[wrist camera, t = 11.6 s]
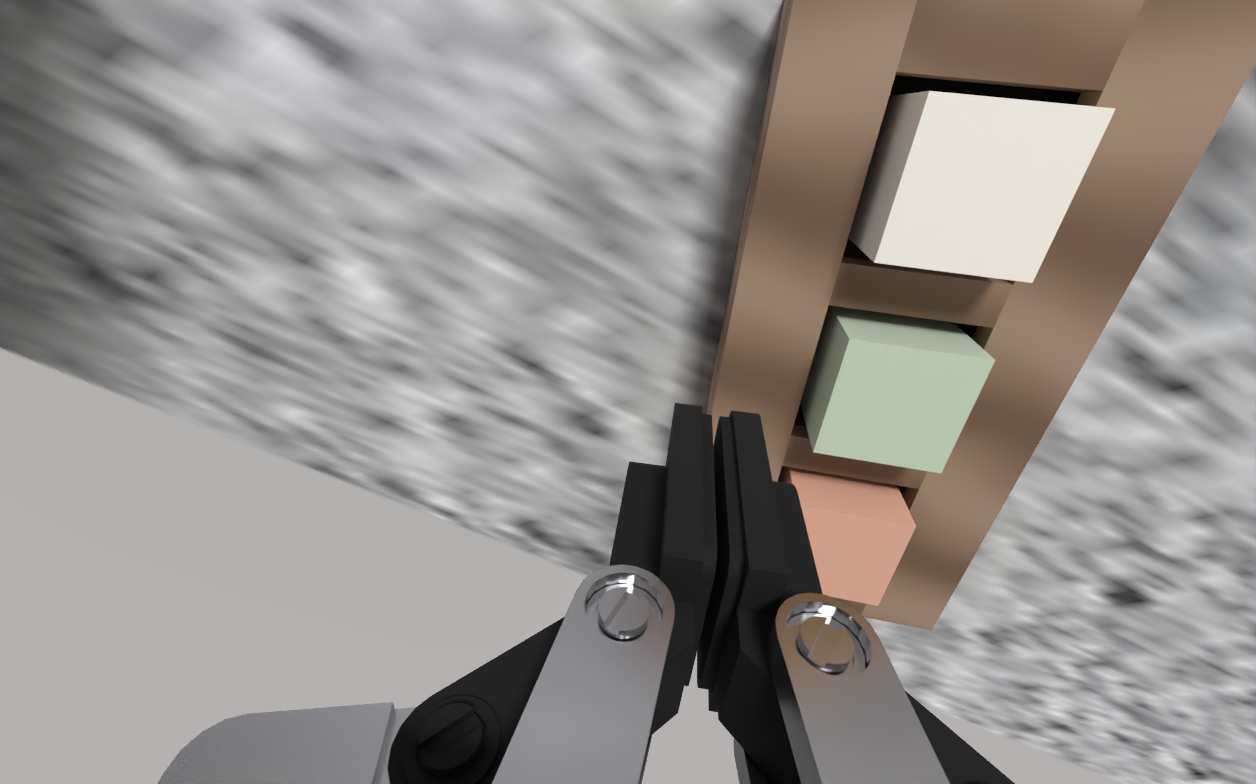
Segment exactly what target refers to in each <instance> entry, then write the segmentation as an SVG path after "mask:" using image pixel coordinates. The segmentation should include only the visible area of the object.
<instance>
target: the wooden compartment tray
mask: <svg viewBox="0 0 1256 784" xmlns="http://www.w3.org/2000/svg"><path fill="white" fill-rule="evenodd" d="M1255 63H1256V0H784V4H783V10H782V15H781V20H780V25H779V31H778V36H777V41H776V46H775V52H774V57H773V62H772V67H771V73H770V78H769V83H768V88H767V94H766V99H765V104H764V109H763V114H762V120H761V125H760V130H759V135H758V141H757V146H756V151H755V156H754V162H753V167H752V172H751V177H750V183H749V188H748V193H747V198H746V204H745V209H744V214H743V219H742V224H741V230H740V235H739V240H738V245H737V251H736V256H735V261H734V266H733V272H732V277H731V282H730V287H729V293H728V298H727V303H726V308H725V314H724V319H723V324H722V329H721V334H720V340H719V345H718V350H717V355H716V361H715V366H714V371H713V376H712V382H711V387H710V392H709V397H708V403H707V408H706V413H705V414H709V415H712V427H713V445H714V440H715V435H716V430H717V425H718V420H719V417H720V416H724V417H729V415H730V412H731V410H733V411H741V412H749V413H757V414H760V417H761V422H762V428H763V433H764V438H765V443H766V449H767V454H768V459H769V465H770V470H771V475H772V480H773V481H776V482H777V481H778V478H779V474H780V471H781V467H782V466H786V467H792V468H798V469H804V470H810V471H815V472H821V473H827V474H833V475H839V476H845V477H851V478H857V479H863V480H869V481H875V482H880V483H886V484H892V485H898V486H904V487H906V488H905V490H904V492H903V495H902V497H903V499H904V501H905V503H906V505H907V507H908V510H909V512H910V514H911V516H912V518H913V520H914V522H915V524H916V528H915V530H914V532H913V534H912V536H911V538H910V540H909V543H908V545H907V547H906V549H905V551H904V553H903V555H902V557H901V559H900V561H899V563H898V566H897V568H896V570H895V572H894V574H893V576H892V578H891V580H890V582H889V584H888V586H887V589H886V591H885V593H884V595H883V597H882V599H881V601H880V603H879V605H878V606H876V605H871V604H865V603H860V602H855V601H850V600H845V599H839V598H835V599H838V600H840V601H842V602H844V603H846V604H847V605H849V606H850V607H852V608H853V609H855V610H856V611H857V612H858V613H859V614H861V615H862V616H863V617H867V618H872V619H877V620H882V621H887V622H892V623H897V624H903V625H908V626H913V627H918V628H923V629H928V630H932V629H933V627H934V625H935V623H936V622H937V620H938V618H939V616H940V615H941V613H942V611H943V609H944V608H945V606H946V604H947V602H948V601H949V599H950V597H951V595H952V594H953V592H954V590H955V588H956V587H957V585H958V583H959V581H960V580H961V578H962V576H963V574H964V573H965V571H966V569H967V567H968V566H969V564H970V562H971V560H972V559H973V557H974V555H975V553H976V552H977V550H978V548H979V546H980V545H981V543H982V541H983V539H984V538H985V536H986V534H987V532H988V531H989V529H990V527H991V525H992V524H993V522H994V520H995V518H996V517H997V515H998V513H999V511H1000V510H1001V508H1002V506H1003V504H1004V503H1005V501H1006V499H1007V497H1008V496H1009V494H1010V492H1011V490H1012V489H1013V487H1014V485H1015V483H1016V482H1017V480H1018V478H1019V476H1020V475H1021V473H1022V471H1023V469H1024V468H1025V466H1026V464H1027V462H1028V461H1029V459H1030V457H1031V455H1032V454H1033V452H1034V450H1035V448H1036V447H1037V445H1038V443H1039V441H1040V440H1041V438H1042V436H1043V434H1044V433H1045V431H1046V429H1047V427H1048V426H1049V424H1050V422H1051V420H1052V419H1053V417H1054V415H1055V413H1056V412H1057V410H1058V408H1059V406H1060V405H1061V403H1062V401H1063V399H1064V398H1065V396H1066V394H1067V392H1068V391H1069V389H1070V387H1071V385H1072V384H1073V382H1074V380H1075V378H1076V377H1077V375H1078V373H1079V371H1080V370H1081V368H1082V366H1083V364H1084V363H1085V361H1086V359H1087V357H1088V356H1089V354H1090V352H1091V350H1092V349H1093V347H1094V345H1095V343H1096V342H1097V340H1098V338H1099V336H1100V335H1101V333H1102V331H1103V329H1104V328H1105V326H1106V324H1107V322H1108V321H1109V319H1110V317H1111V315H1112V314H1113V312H1114V310H1115V308H1116V307H1117V305H1118V303H1119V301H1120V300H1121V298H1122V296H1123V294H1124V293H1125V291H1126V289H1127V287H1128V286H1129V284H1130V282H1131V280H1132V279H1133V277H1134V275H1135V273H1136V272H1137V270H1138V268H1139V266H1140V265H1141V263H1142V261H1143V259H1144V258H1145V256H1146V254H1147V252H1148V251H1149V249H1150V247H1151V245H1152V243H1153V242H1154V240H1155V238H1156V236H1157V235H1158V233H1159V231H1160V229H1161V228H1162V226H1163V224H1164V222H1165V221H1166V219H1167V217H1168V215H1169V214H1170V212H1171V210H1172V208H1173V207H1174V205H1175V203H1176V201H1177V200H1178V198H1179V196H1180V194H1181V193H1182V191H1183V189H1184V187H1185V186H1186V184H1187V182H1188V180H1189V179H1190V177H1191V175H1192V173H1193V172H1194V170H1195V168H1196V166H1197V165H1198V163H1199V161H1200V159H1201V158H1202V156H1203V154H1204V152H1205V151H1206V149H1207V147H1208V145H1209V144H1210V142H1211V140H1212V138H1213V137H1214V135H1215V133H1216V131H1217V130H1218V128H1219V126H1220V124H1221V123H1222V121H1223V119H1224V117H1225V116H1226V114H1227V112H1228V110H1229V109H1230V107H1231V105H1232V103H1233V102H1234V100H1235V98H1236V96H1237V95H1238V93H1239V91H1240V89H1241V88H1242V86H1243V84H1244V82H1245V81H1246V79H1247V77H1248V75H1249V74H1250V72H1251V70H1252V68H1253V67H1254V65H1255ZM895 75H899V76H910V77H920V78H931V79H942V80H953V81H963V82H974V83H985V84H996V85H1006V86H1017V87H1028V88H1039V89H1049V90H1060V91H1071V92H1081V94H1080V96H1079V99H1078V101H1077V103H1076V105H1084V106H1095V107H1105V108H1116V109H1115V111H1114V113H1113V116H1112V118H1111V120H1110V122H1109V124H1108V126H1107V128H1106V130H1105V132H1104V134H1103V136H1102V139H1101V141H1100V143H1099V145H1098V147H1097V149H1096V151H1095V153H1094V155H1093V157H1092V159H1091V162H1090V164H1089V166H1088V168H1087V170H1086V172H1085V174H1084V176H1083V178H1082V180H1081V182H1080V185H1079V187H1078V189H1077V191H1076V193H1075V195H1074V197H1073V199H1072V201H1071V203H1070V205H1069V208H1068V210H1067V212H1066V214H1065V216H1064V218H1063V220H1062V222H1061V224H1060V226H1059V228H1058V231H1057V233H1056V235H1055V237H1054V239H1053V241H1052V243H1051V245H1050V247H1049V249H1048V251H1047V253H1046V256H1045V258H1044V260H1043V262H1042V264H1041V266H1040V268H1039V270H1038V272H1037V274H1036V276H1035V279H1034V281H1033V283H1028V282H1021V281H1013V280H1005V279H997V278H989V277H982V276H974V275H966V274H958V273H950V272H943V271H935V270H927V269H919V268H911V267H904V266H896V265H888V264H880V263H874V262H873V261H871V260H863V259H855V258H848V257H843V254H844V251H845V247H846V244H847V240H848V237H849V233H850V230H851V226H852V223H853V220H854V216H855V213H856V209H857V206H858V202H859V199H860V195H861V192H862V189H863V185H864V182H865V178H866V175H867V171H868V168H869V164H870V161H871V158H872V154H873V151H874V147H875V144H876V140H877V137H878V134H879V130H880V127H881V123H882V120H883V116H884V113H885V109H886V106H887V103H888V99H889V96H890V92H891V89H892V85H893V82H894V78H895ZM829 305H830V306H838V307H845V308H852V309H859V310H867V311H874V312H881V313H889V314H896V315H903V316H910V317H918V318H925V319H932V320H939V321H947V322H954V323H961V324H968V325H976V326H977V328H976V330H975V333H974V335H973V337H972V340H974V341H975V342H976V343H977V344H978V345H979V346H980V347H981V348H983V349H984V350H985V351H986V352H987V353H988V354H989V355H990V356H992V357H993V358H994V359H995V362H994V364H993V366H992V368H991V370H990V373H989V375H988V377H987V379H986V381H985V383H984V385H983V387H982V389H981V391H980V393H979V396H978V398H977V400H976V402H975V404H974V406H973V408H972V410H971V412H970V414H969V416H968V419H967V421H966V423H965V425H964V427H963V429H962V431H961V433H960V435H959V437H958V439H957V442H956V444H955V446H954V448H953V450H952V452H951V454H950V456H949V458H948V460H947V462H946V465H945V467H944V469H943V471H942V473H935V472H929V471H923V470H917V469H911V468H905V467H899V466H893V465H887V464H881V463H875V462H869V461H863V460H856V459H850V458H844V457H838V456H832V455H826V454H820V453H814V452H813V450H812V446H811V442H810V439H809V435H808V431H807V427H806V426H804V425H797V424H794V423H795V419H796V416H797V412H798V409H799V405H800V402H801V398H802V395H803V392H804V388H805V385H806V381H807V378H808V374H809V371H810V368H811V364H812V361H813V357H814V354H815V350H816V347H817V343H818V340H819V337H820V333H821V330H822V326H823V323H824V319H825V316H826V312H827V309H828V306H829ZM833 598H834V597H833Z"/></svg>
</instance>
